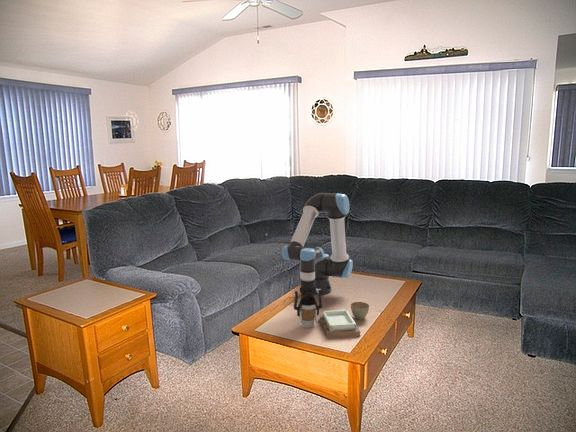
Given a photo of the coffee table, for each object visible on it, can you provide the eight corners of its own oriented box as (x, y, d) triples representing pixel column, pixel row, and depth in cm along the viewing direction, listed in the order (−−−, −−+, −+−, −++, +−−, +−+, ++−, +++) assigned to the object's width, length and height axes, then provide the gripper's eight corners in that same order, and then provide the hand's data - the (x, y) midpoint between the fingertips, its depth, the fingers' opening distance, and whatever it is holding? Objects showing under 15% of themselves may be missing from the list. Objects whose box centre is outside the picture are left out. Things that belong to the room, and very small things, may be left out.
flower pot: (355, 322, 222) (355, 309, 221) (347, 315, 231) (347, 302, 230) (372, 320, 224) (372, 307, 223) (364, 313, 234) (364, 300, 233)
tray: (322, 316, 224) (322, 311, 223) (346, 314, 226) (346, 309, 225) (330, 331, 206) (330, 325, 206) (356, 329, 208) (356, 323, 207)
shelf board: (319, 319, 226) (319, 315, 226) (348, 317, 228) (348, 313, 228) (328, 338, 205) (328, 333, 204) (360, 336, 207) (360, 331, 206)
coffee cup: (315, 321, 224) (315, 294, 221) (317, 328, 215) (316, 300, 213) (299, 322, 224) (299, 295, 221) (300, 329, 215) (300, 301, 213)
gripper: (288, 282, 210) (289, 325, 214) (328, 280, 213) (328, 323, 217) (287, 277, 218) (287, 319, 222) (325, 275, 220) (325, 317, 224)
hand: (308, 321), depth 219 cm, fingers closed on coffee cup, 7 cm apart
